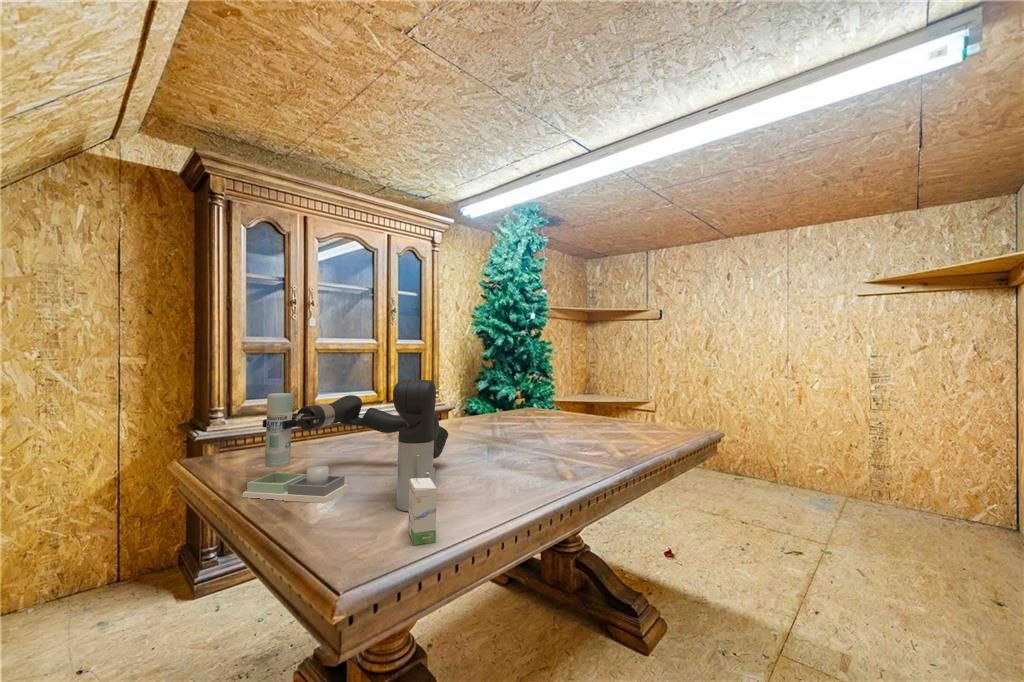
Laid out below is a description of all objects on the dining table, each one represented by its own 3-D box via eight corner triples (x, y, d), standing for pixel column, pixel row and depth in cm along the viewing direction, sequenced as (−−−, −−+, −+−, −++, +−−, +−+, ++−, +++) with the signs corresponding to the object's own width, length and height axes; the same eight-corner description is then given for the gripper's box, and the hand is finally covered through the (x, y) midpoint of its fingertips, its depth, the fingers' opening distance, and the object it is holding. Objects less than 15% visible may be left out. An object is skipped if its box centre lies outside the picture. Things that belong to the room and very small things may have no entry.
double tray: (347, 489, 127) (348, 463, 127) (325, 503, 115) (326, 474, 115) (272, 485, 129) (273, 459, 130) (242, 498, 118) (243, 470, 118)
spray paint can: (293, 461, 126) (295, 393, 128) (286, 466, 120) (289, 394, 121) (268, 462, 125) (272, 393, 126) (260, 467, 119) (264, 394, 120)
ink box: (436, 542, 92) (437, 486, 92) (412, 546, 90) (414, 489, 90) (429, 527, 100) (430, 476, 100) (407, 530, 98) (408, 478, 98)
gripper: (334, 429, 135) (293, 439, 119) (297, 426, 139) (252, 436, 123) (335, 405, 135) (294, 412, 119) (298, 403, 139) (253, 409, 123)
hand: (273, 424), depth 121 cm, fingers closed on spray paint can, 6 cm apart
